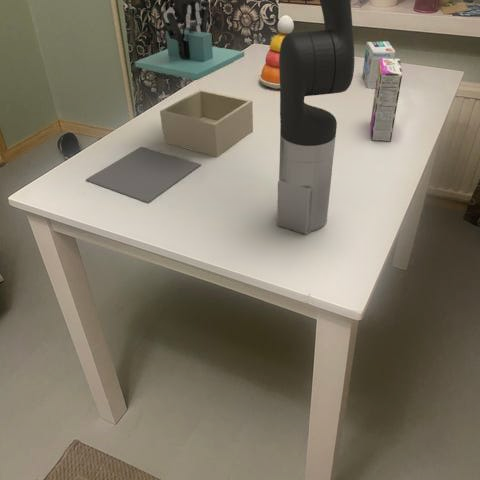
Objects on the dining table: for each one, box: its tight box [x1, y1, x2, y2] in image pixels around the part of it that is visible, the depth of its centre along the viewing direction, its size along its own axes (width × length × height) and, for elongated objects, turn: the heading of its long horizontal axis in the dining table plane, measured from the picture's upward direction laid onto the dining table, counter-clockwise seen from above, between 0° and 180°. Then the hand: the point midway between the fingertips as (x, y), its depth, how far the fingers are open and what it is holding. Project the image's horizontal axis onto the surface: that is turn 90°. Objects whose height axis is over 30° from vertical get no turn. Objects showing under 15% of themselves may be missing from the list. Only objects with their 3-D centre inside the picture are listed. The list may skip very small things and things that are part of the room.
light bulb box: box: [361, 40, 396, 89], centre depth 141 cm, size 11×7×11 cm, turn 178°
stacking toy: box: [258, 14, 295, 90], centre depth 140 cm, size 14×14×20 cm
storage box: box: [159, 89, 254, 158], centre depth 116 cm, size 16×16×8 cm
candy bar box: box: [370, 58, 403, 143], centre depth 112 cm, size 11×5×16 cm, turn 168°
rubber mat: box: [85, 146, 202, 204], centre depth 104 cm, size 18×18×1 cm
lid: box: [134, 29, 245, 81], centre depth 102 cm, size 17×17×7 cm
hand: (190, 56), depth 102 cm, fingers closed on lid, 3 cm apart
